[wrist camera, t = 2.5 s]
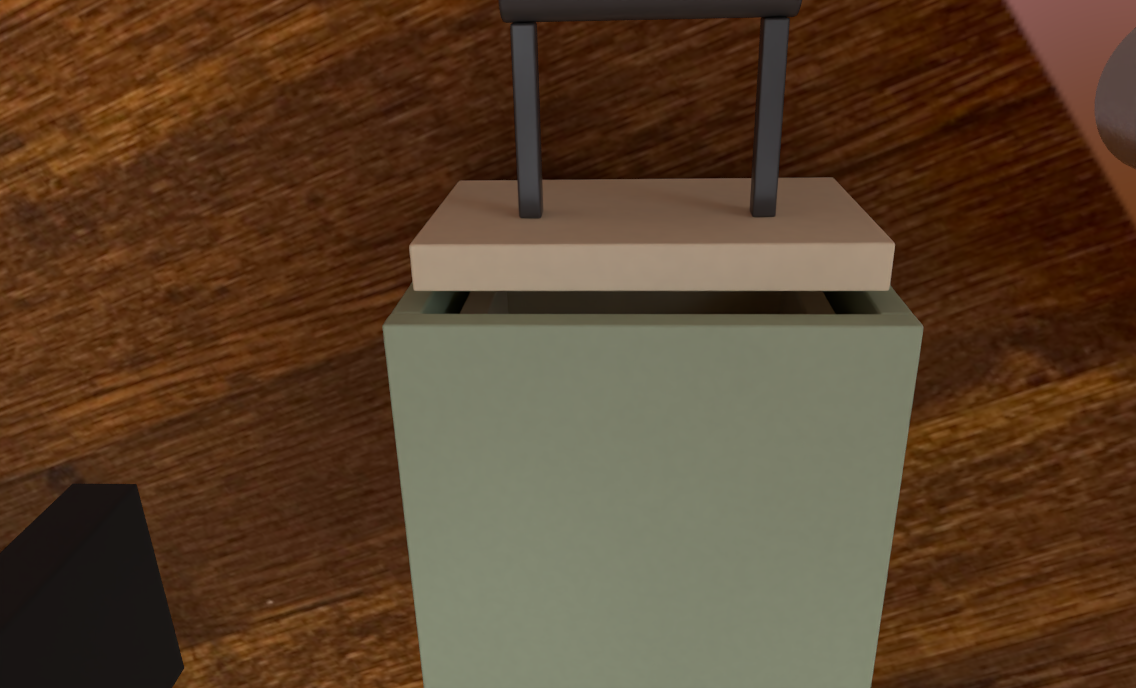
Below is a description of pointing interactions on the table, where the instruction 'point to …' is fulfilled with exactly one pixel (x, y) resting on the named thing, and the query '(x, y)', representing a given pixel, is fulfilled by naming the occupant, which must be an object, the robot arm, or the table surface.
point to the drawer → (650, 210)
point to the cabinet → (650, 491)
